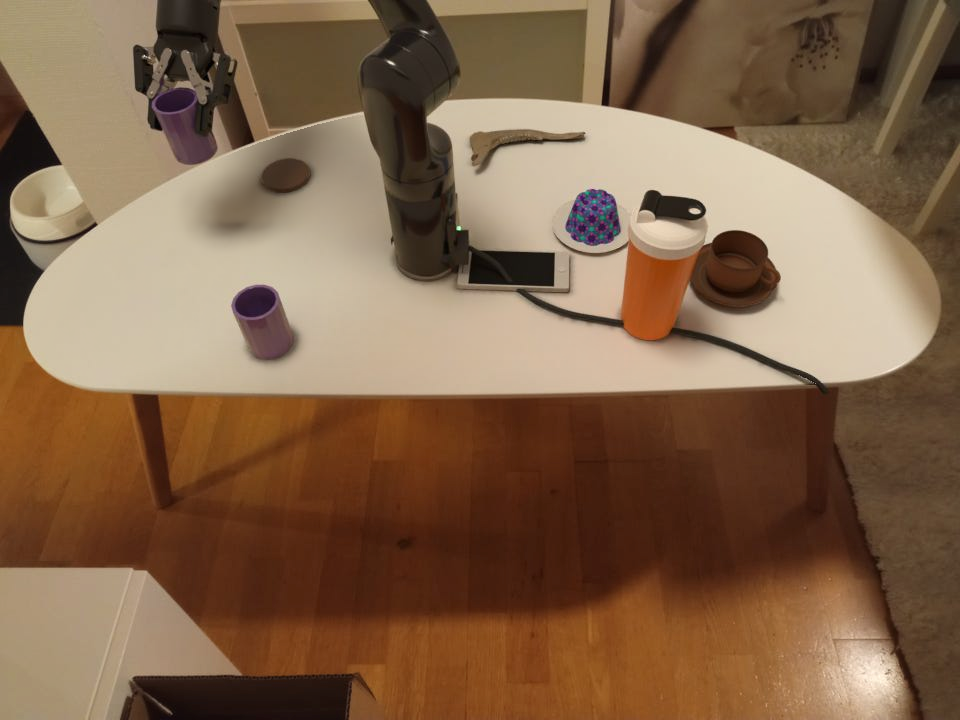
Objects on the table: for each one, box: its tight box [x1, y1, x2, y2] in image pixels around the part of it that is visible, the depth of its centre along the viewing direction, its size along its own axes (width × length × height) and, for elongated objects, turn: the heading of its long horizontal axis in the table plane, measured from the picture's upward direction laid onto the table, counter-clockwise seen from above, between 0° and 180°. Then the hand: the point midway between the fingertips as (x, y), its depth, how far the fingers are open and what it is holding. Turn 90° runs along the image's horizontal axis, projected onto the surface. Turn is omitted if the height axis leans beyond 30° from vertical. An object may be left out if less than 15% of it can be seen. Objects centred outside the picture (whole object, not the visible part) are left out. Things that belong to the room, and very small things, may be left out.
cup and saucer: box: [689, 229, 782, 307], centre depth 103 cm, size 12×12×6 cm
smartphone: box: [456, 248, 570, 293], centre depth 107 cm, size 7×16×1 cm, turn 86°
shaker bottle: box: [620, 188, 709, 341], centre depth 93 cm, size 9×9×20 cm
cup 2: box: [230, 284, 294, 360], centre depth 98 cm, size 6×6×8 cm
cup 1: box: [152, 86, 219, 166], centre depth 102 cm, size 6×6×8 cm
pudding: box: [551, 188, 631, 254], centre depth 110 cm, size 12×12×5 cm
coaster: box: [261, 157, 311, 193], centre depth 122 cm, size 8×8×1 cm
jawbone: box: [469, 128, 587, 167], centre depth 125 cm, size 9×20×2 cm, turn 115°
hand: (179, 132), depth 100 cm, fingers closed on cup 1, 6 cm apart
